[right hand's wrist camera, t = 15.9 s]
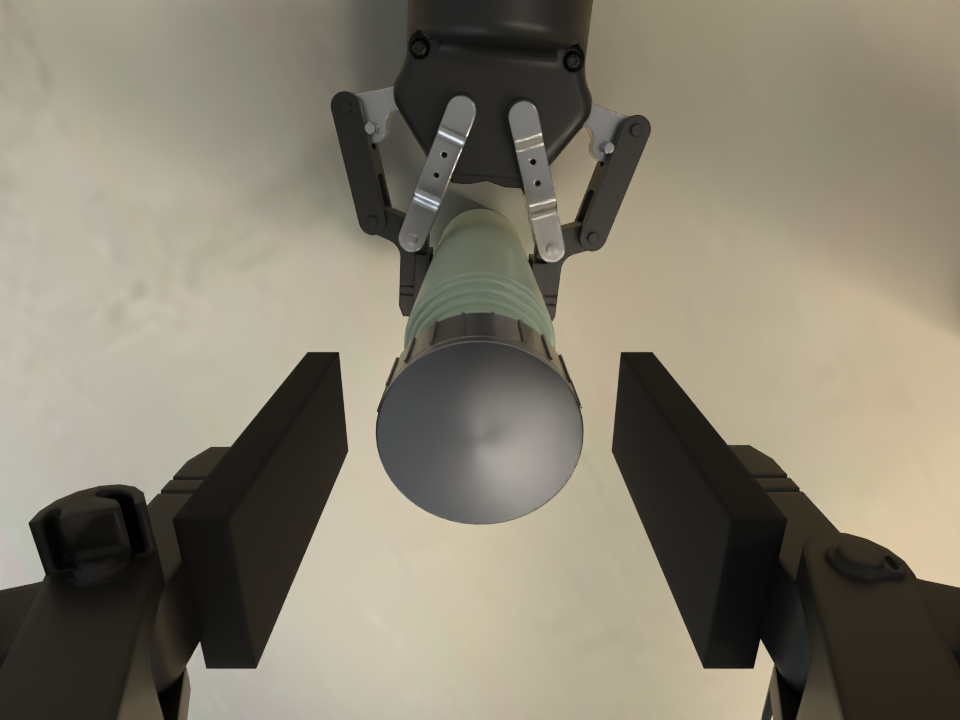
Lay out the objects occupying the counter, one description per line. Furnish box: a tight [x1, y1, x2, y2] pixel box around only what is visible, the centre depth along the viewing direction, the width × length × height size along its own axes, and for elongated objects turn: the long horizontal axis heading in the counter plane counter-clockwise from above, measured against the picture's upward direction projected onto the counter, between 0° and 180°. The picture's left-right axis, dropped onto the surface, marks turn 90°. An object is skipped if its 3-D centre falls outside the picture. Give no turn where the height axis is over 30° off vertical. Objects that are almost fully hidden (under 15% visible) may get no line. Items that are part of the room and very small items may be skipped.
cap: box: [376, 312, 583, 524], centre depth 14 cm, size 5×5×2 cm
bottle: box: [404, 209, 555, 349], centre depth 24 cm, size 5×5×22 cm
